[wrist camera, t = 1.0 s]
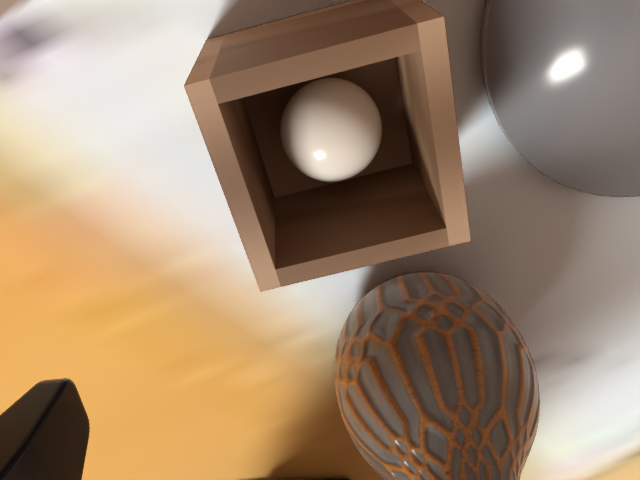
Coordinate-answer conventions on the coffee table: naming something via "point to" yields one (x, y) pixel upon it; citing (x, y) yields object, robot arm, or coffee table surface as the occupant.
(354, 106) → the ball
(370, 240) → the box
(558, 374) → the coffee table surface
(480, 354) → the vase
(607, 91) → the coaster
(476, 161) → the coffee table surface
